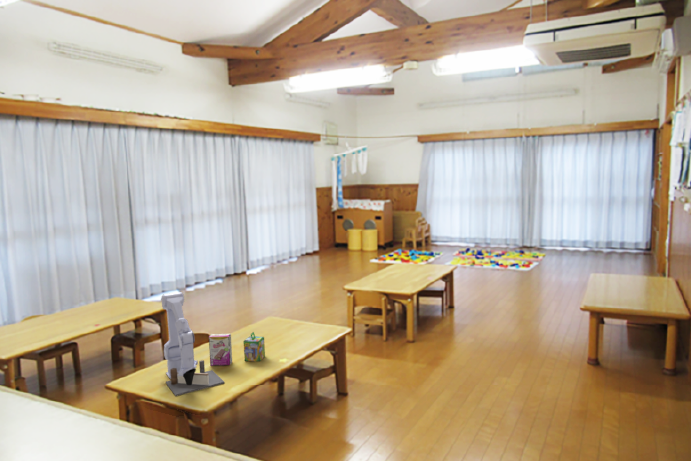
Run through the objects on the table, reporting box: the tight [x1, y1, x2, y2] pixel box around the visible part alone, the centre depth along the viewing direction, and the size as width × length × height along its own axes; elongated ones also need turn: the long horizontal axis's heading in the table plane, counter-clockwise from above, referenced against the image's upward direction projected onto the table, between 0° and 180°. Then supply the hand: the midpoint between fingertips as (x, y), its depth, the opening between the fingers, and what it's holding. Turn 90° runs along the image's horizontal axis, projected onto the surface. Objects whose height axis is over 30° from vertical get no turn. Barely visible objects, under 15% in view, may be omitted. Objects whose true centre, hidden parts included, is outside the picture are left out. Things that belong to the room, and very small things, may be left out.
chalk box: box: [243, 331, 266, 362], centre depth 265 cm, size 9×9×15 cm
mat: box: [165, 369, 225, 397], centre depth 235 cm, size 18×24×1 cm
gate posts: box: [170, 359, 206, 385], centre depth 238 cm, size 3×17×8 cm, turn 133°
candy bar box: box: [208, 333, 233, 367], centre depth 258 cm, size 11×5×16 cm, turn 92°
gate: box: [177, 372, 209, 385], centre depth 231 cm, size 16×1×5 cm, turn 79°
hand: (189, 384), depth 226 cm, fingers closed
